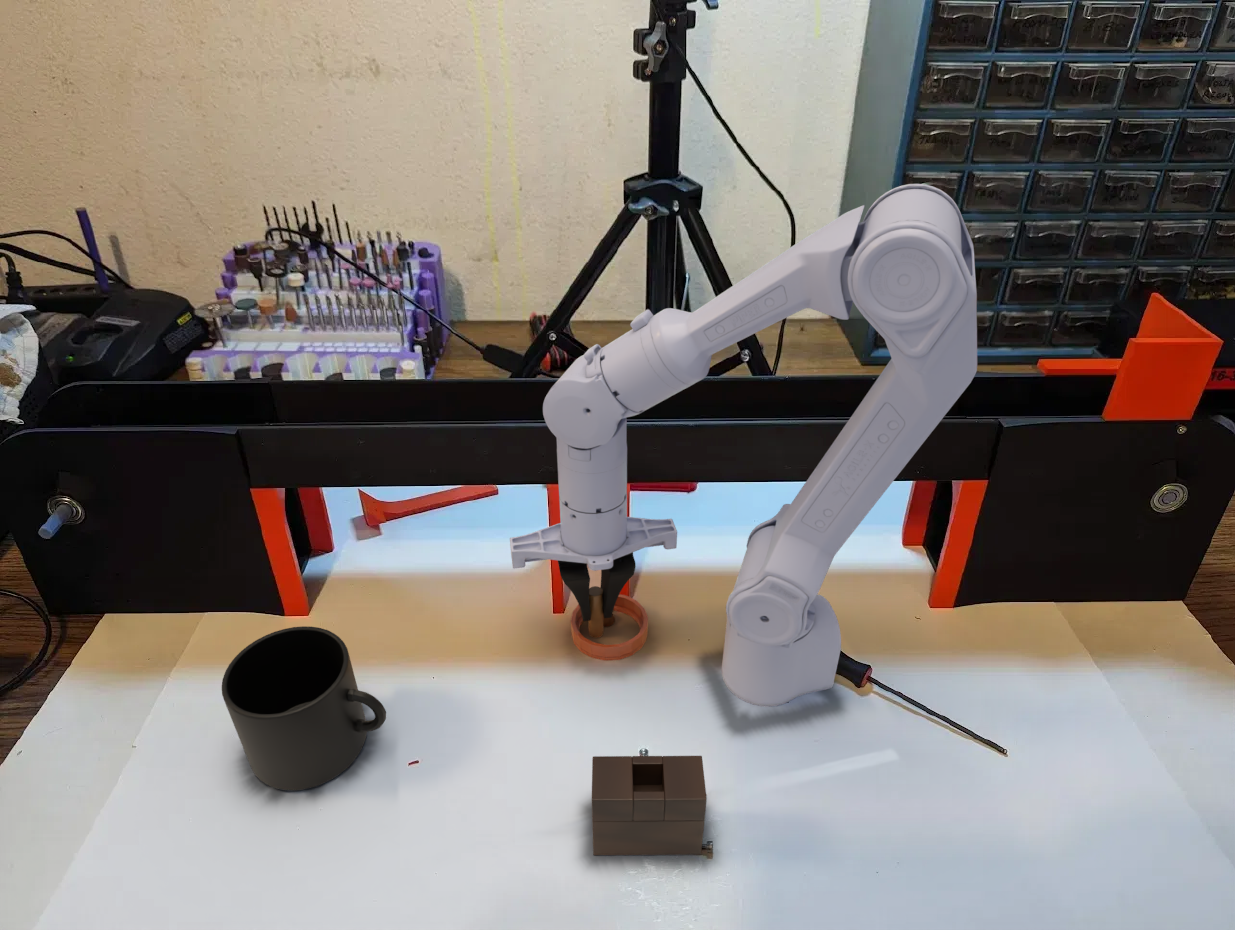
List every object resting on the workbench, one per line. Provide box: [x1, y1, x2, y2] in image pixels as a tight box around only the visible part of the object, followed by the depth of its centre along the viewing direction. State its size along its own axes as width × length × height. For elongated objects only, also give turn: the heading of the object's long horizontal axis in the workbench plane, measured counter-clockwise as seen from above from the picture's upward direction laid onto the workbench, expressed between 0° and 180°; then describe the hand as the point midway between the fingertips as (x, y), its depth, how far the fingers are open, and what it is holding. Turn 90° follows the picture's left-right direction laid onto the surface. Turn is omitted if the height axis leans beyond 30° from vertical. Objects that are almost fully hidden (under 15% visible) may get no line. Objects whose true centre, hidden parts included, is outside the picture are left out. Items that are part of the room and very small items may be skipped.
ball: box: [603, 613, 616, 628], centre depth 78 cm, size 2×2×2 cm
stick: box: [588, 585, 604, 639], centre depth 76 cm, size 1×1×6 cm
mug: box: [221, 625, 387, 791], centre depth 65 cm, size 9×12×9 cm
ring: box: [570, 594, 649, 662], centre depth 77 cm, size 7×7×3 cm
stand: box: [591, 755, 708, 856], centre depth 59 cm, size 8×4×7 cm, turn 90°
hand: (595, 612), depth 75 cm, fingers closed on stick, 1 cm apart
